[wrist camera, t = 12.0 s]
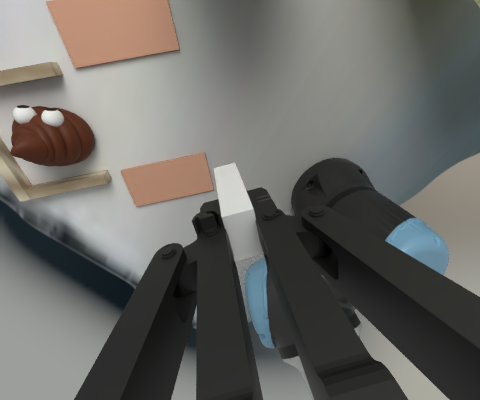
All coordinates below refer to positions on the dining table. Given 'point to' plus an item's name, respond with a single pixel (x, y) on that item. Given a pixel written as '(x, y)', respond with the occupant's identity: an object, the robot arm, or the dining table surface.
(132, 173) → the pads
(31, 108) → the poop emoji
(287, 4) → the dining table surface
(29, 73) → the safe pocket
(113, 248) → the dining table surface
